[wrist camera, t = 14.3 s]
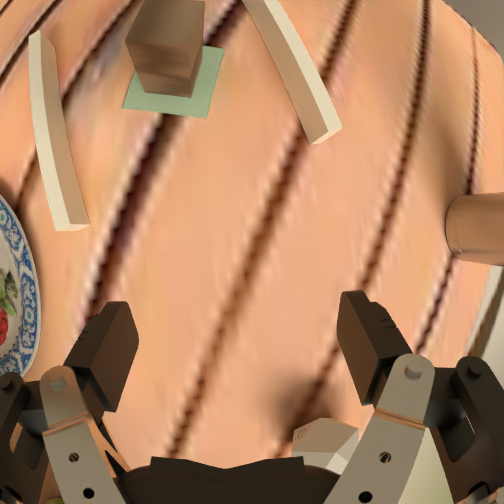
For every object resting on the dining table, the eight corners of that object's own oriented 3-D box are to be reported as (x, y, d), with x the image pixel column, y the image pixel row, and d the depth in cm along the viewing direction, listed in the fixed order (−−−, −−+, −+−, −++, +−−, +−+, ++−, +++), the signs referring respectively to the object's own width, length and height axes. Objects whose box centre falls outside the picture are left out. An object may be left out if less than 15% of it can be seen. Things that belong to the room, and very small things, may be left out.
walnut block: (202, 57, 27) (205, -1, 17) (191, 98, 27) (188, 44, 17) (158, 53, 26) (147, -4, 16) (145, 92, 26) (124, 40, 16)
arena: (247, -12, 27) (253, -36, 22) (322, 141, 30) (342, 128, 25) (44, 54, 24) (28, 36, 19) (77, 230, 27) (56, 231, 22)
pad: (224, 50, 27) (224, 49, 27) (206, 118, 28) (206, 117, 28) (147, 42, 26) (147, 40, 26) (123, 108, 26) (122, 107, 26)
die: (299, 396, 33) (276, 464, 25) (370, 404, 30) (359, 476, 22) (298, 427, 36) (279, 485, 28) (358, 435, 33) (346, 495, 25)
